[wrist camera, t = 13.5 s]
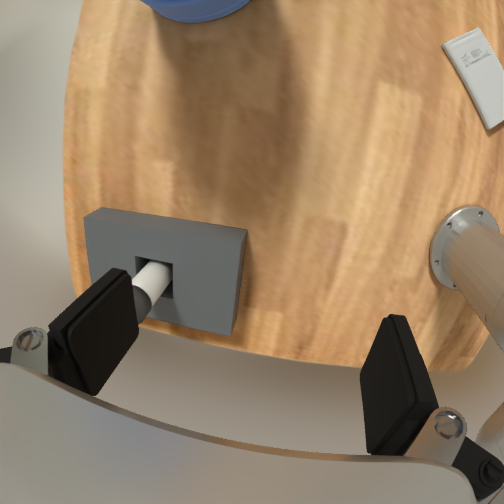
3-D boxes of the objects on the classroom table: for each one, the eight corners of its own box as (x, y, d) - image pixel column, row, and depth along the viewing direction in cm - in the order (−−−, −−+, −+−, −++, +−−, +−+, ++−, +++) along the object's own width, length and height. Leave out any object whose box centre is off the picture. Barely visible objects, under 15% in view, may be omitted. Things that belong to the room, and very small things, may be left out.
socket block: (247, 229, 38) (241, 243, 34) (236, 317, 44) (230, 336, 40) (101, 207, 40) (83, 217, 36) (108, 287, 46) (94, 302, 42)
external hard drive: (483, 128, 28) (438, 45, 25) (515, 107, 25) (474, 28, 22) (490, 129, 26) (443, 43, 23) (522, 107, 24) (480, 26, 20)
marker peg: (185, 261, 42) (150, 310, 31) (172, 281, 43) (136, 330, 33) (162, 243, 41) (119, 286, 30) (149, 264, 43) (108, 309, 32)
